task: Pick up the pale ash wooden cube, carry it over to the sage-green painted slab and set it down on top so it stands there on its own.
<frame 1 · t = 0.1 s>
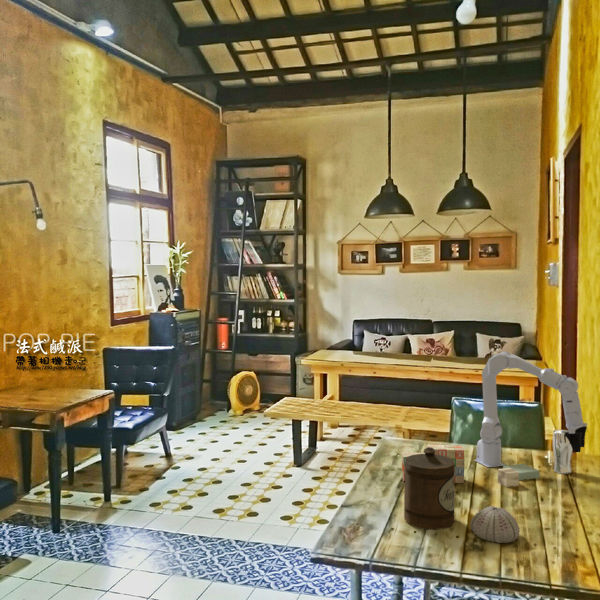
hand: (579, 449, 222), 11 cm above the table, tool pointing down, fingers open, 7 cm apart
ash cube: (508, 484, 216), on the table
green slab: (520, 476, 226), on the table
wooden container: (429, 520, 185), on the table
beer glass: (562, 471, 230), on the table
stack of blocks: (432, 481, 221), on the table
sea urchin shell: (495, 537, 173), on the table
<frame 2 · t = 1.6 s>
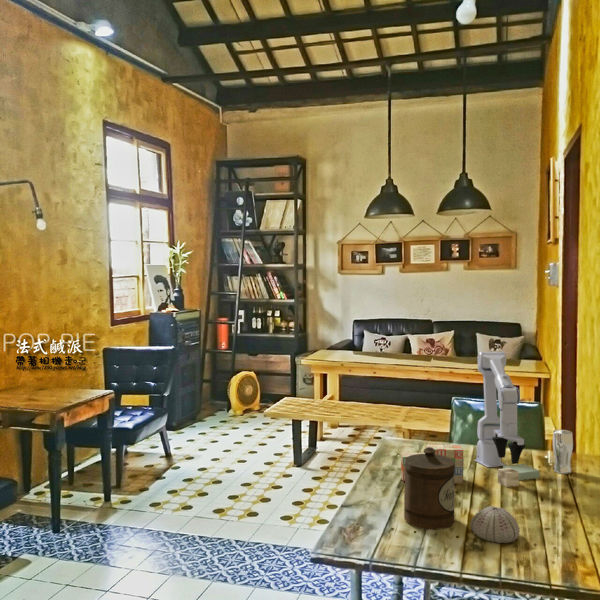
hand: (508, 460, 216), 9 cm above the table, tool pointing down, fingers open, 7 cm apart
nothing on the table moved.
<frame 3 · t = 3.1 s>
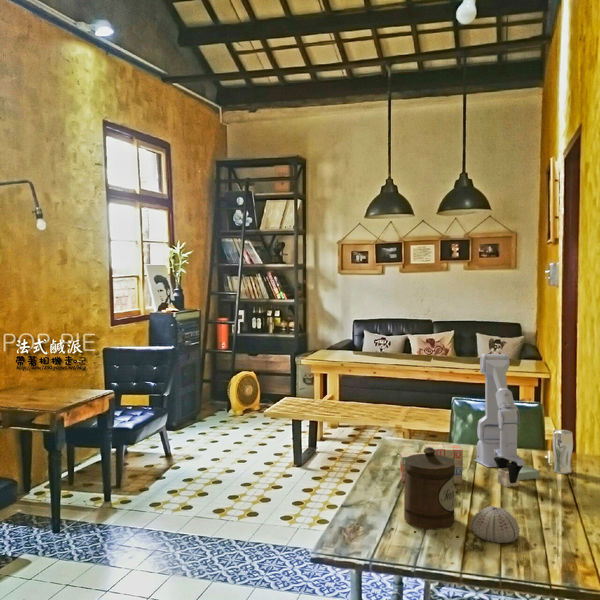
hand: (508, 480, 216), 1 cm above the table, tool pointing down, fingers closed on ash cube, 5 cm apart
ash cube: (508, 484, 216), on the table, touching gripper
everything else where it was.
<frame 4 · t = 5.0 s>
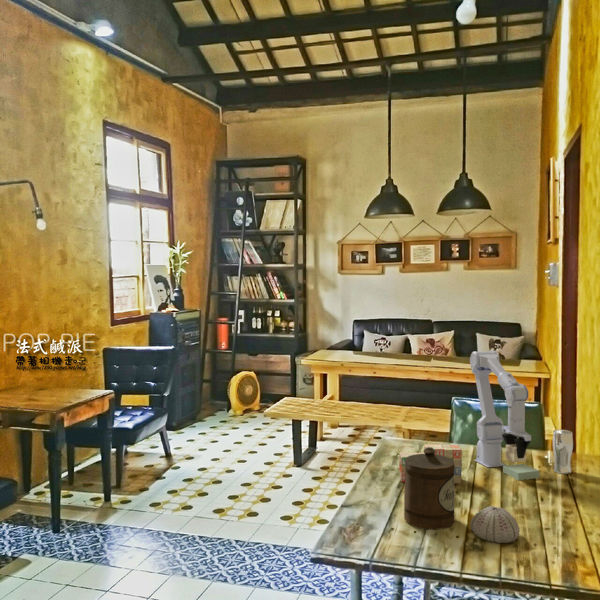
hand: (515, 455, 222), 8 cm above the table, tool pointing down, fingers closed on ash cube, 5 cm apart
ash cube: (515, 459, 222), point 7 cm above the table, touching gripper
everything else where it was.
when the fingers open (5 cm above the table, at t = 6.9 s): ash cube drops 1 cm, resting on green slab.
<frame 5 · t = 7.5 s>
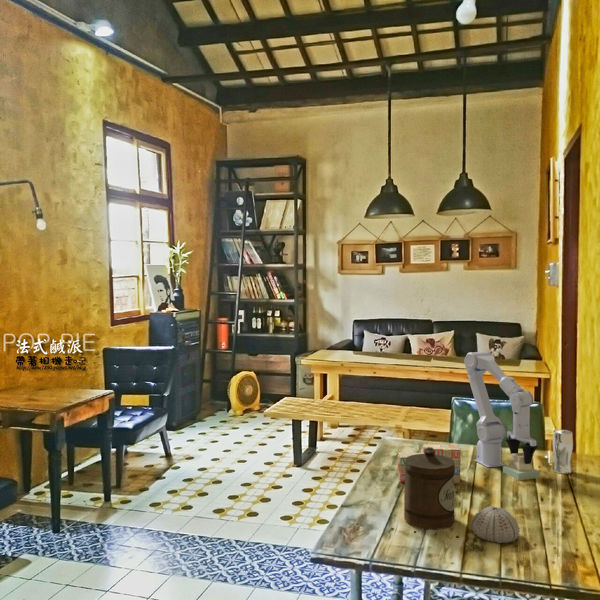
hand: (521, 460, 226), 5 cm above the table, tool pointing down, fingers open, 7 cm apart
ash cube: (520, 468, 226), point 2 cm above the table, touching green slab
green slab: (520, 476, 226), on the table, touching ash cube
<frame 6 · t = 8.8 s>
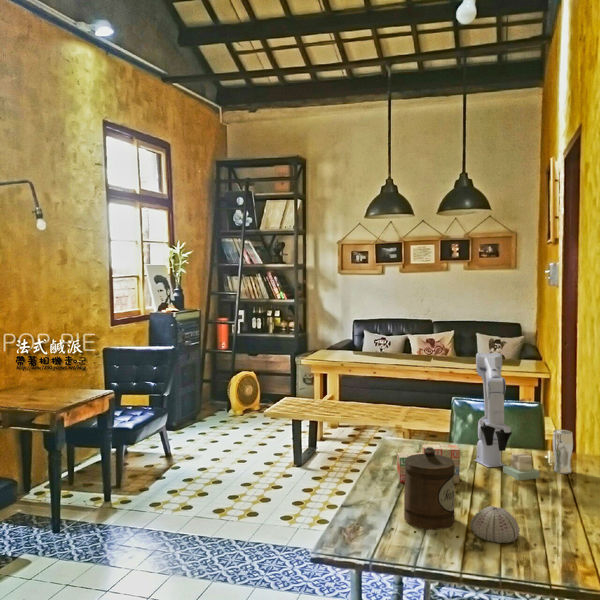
hand: (495, 448, 224), 10 cm above the table, tool pointing down, fingers open, 7 cm apart
ash cube: (521, 468, 226), point 2 cm above the table
green slab: (521, 476, 226), on the table
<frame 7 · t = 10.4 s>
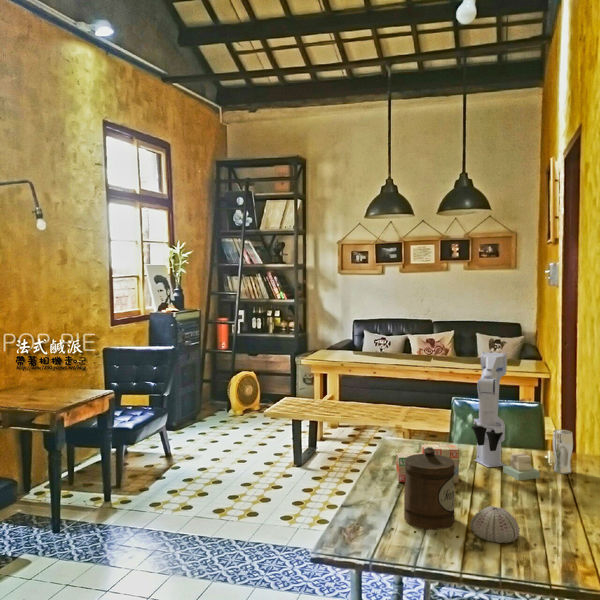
hand: (486, 447, 225), 10 cm above the table, tool pointing down, fingers open, 7 cm apart
at the end: ash cube 0.3 cm off-centre on the green slab, point 3.0 cm above the green slab's base; ash cube tilted 0°; the gripper is holding nothing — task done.
